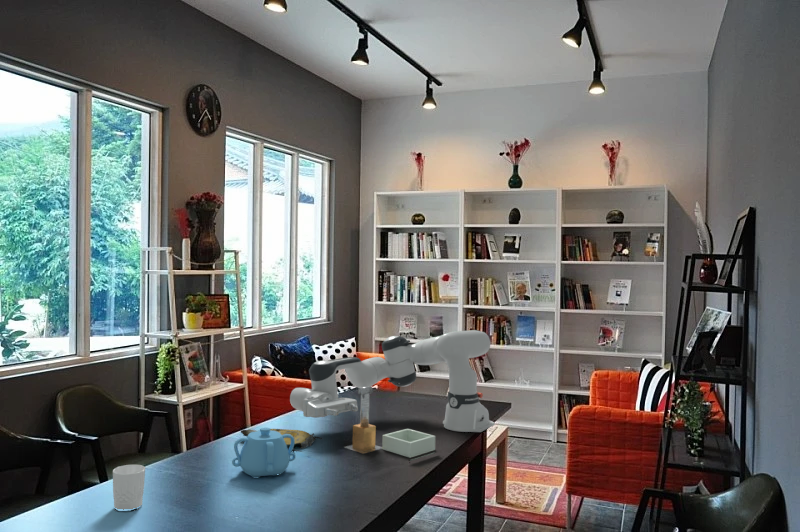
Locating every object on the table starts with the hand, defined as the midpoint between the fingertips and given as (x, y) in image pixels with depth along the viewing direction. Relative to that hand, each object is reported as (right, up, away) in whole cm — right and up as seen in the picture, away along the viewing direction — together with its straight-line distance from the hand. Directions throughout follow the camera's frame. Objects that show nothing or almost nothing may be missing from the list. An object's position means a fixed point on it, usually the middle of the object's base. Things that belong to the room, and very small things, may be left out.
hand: (347, 411), depth 227 cm
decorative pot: (-23, -12, -30) cm, 40 cm away
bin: (+22, -13, -6) cm, 26 cm away
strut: (+6, -11, -5) cm, 14 cm away
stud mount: (+6, -13, -5) cm, 15 cm away
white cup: (-52, -12, -60) cm, 81 cm away
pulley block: (-25, -12, 0) cm, 28 cm away
